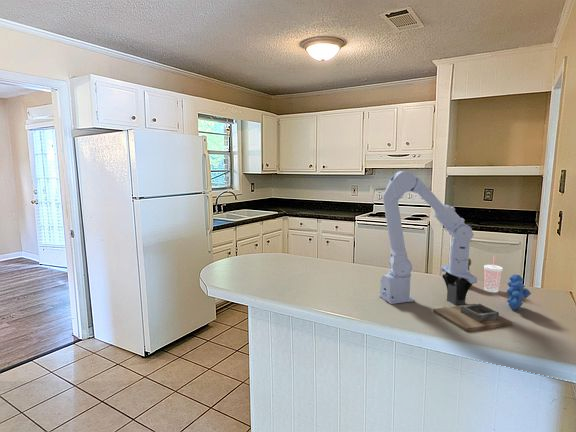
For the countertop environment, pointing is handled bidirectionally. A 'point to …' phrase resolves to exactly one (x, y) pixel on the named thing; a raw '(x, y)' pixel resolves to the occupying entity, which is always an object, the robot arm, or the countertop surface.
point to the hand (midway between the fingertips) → (456, 297)
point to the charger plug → (453, 294)
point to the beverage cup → (492, 277)
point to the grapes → (516, 292)
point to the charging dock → (472, 317)
